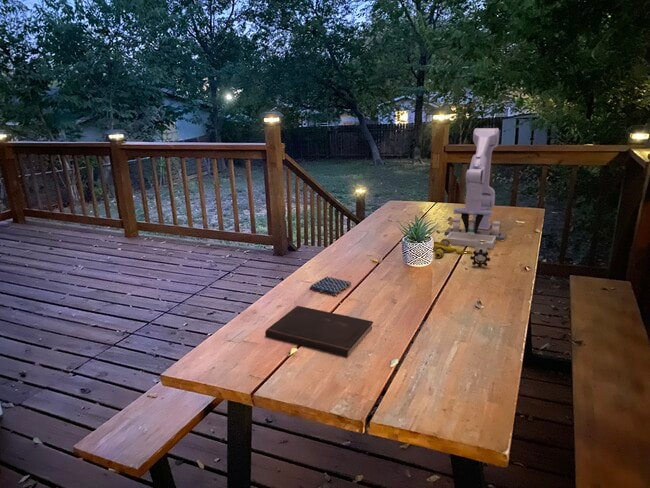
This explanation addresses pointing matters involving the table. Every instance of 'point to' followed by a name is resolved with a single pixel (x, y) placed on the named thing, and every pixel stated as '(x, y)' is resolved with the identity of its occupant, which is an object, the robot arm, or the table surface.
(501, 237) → the holder
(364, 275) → the table surface
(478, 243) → the valve
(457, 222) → the cartridge
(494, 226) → the cylinder
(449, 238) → the tray
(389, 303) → the table surface
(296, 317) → the hardcover book
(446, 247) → the sprinkler
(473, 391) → the table surface
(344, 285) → the woven mat
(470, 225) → the marked cartridge
